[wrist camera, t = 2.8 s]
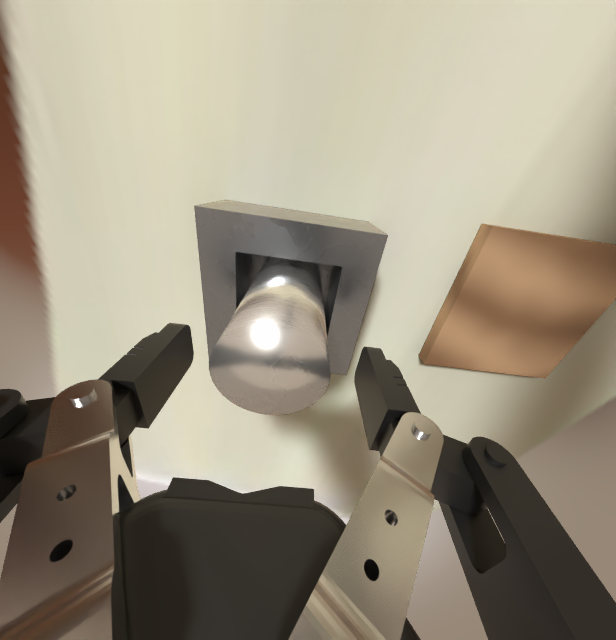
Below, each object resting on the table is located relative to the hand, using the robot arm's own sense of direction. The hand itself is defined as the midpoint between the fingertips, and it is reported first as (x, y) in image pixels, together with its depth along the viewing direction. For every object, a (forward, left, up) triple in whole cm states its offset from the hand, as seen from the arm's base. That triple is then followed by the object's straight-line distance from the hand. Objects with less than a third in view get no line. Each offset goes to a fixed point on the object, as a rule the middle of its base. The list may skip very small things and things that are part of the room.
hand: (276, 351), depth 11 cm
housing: (0, 0, -9) cm, 9 cm away
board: (0, +19, -9) cm, 21 cm away
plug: (0, 0, -8) cm, 8 cm away
